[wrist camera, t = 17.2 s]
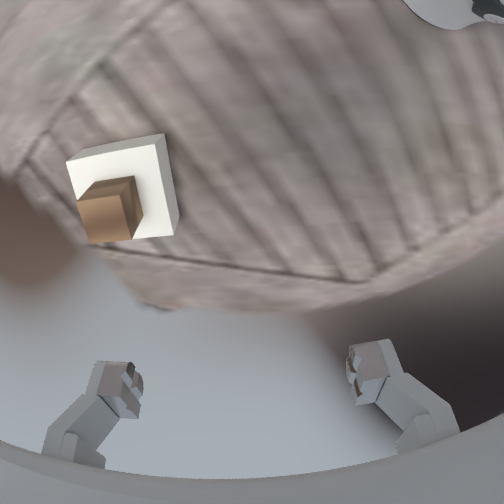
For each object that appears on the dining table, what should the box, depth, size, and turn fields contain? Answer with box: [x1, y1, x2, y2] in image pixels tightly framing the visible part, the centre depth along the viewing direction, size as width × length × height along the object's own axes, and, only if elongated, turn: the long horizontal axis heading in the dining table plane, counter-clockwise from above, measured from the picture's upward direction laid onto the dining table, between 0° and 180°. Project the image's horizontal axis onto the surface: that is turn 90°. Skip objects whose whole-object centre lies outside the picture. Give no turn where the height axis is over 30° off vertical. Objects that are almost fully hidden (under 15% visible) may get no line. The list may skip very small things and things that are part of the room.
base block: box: [66, 133, 180, 239], centre depth 35 cm, size 11×11×5 cm
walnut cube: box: [76, 175, 144, 244], centre depth 31 cm, size 5×5×5 cm
